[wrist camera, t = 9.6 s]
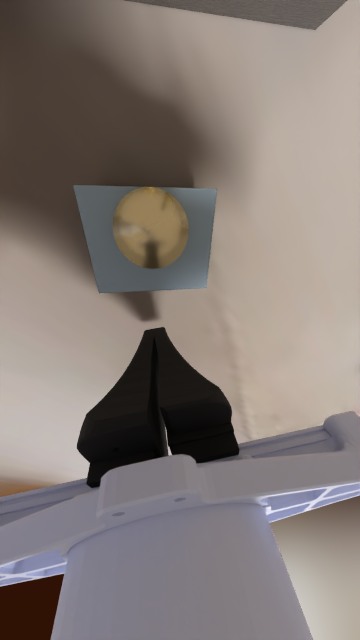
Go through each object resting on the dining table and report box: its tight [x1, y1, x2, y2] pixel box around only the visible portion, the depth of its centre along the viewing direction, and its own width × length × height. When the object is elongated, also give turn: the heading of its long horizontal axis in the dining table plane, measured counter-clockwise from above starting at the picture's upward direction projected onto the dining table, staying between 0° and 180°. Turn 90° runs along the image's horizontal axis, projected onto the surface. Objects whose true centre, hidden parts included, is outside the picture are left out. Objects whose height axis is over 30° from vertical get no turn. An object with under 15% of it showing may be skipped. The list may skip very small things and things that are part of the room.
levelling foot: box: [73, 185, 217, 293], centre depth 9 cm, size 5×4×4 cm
